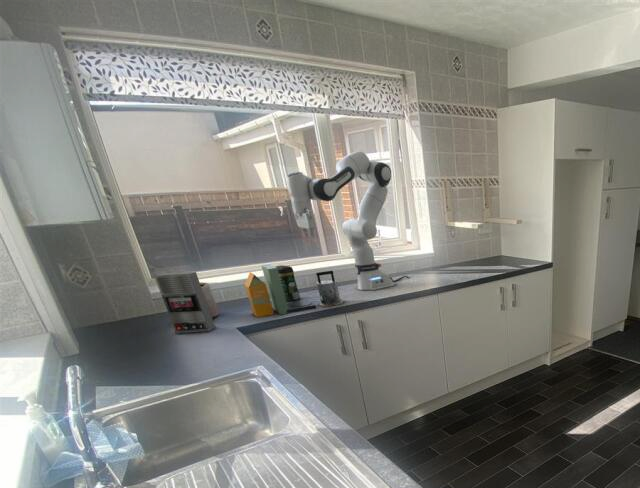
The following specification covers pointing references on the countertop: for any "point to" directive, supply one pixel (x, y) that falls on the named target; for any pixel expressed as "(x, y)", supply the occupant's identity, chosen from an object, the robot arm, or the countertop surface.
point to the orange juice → (258, 296)
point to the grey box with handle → (328, 289)
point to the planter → (210, 300)
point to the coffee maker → (281, 293)
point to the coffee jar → (288, 283)
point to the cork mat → (331, 305)
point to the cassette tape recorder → (185, 302)
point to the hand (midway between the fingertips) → (309, 237)
